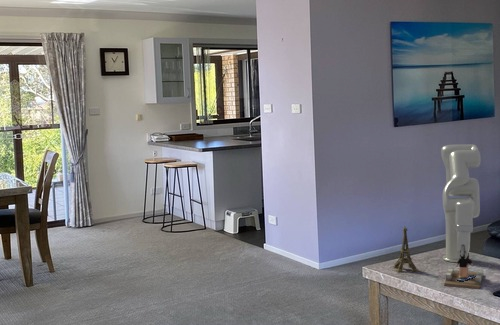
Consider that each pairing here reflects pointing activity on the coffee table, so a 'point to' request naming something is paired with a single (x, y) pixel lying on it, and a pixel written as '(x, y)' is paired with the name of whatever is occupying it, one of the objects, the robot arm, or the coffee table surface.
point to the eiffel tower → (402, 258)
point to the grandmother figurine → (464, 268)
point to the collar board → (471, 283)
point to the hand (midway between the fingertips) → (464, 264)
